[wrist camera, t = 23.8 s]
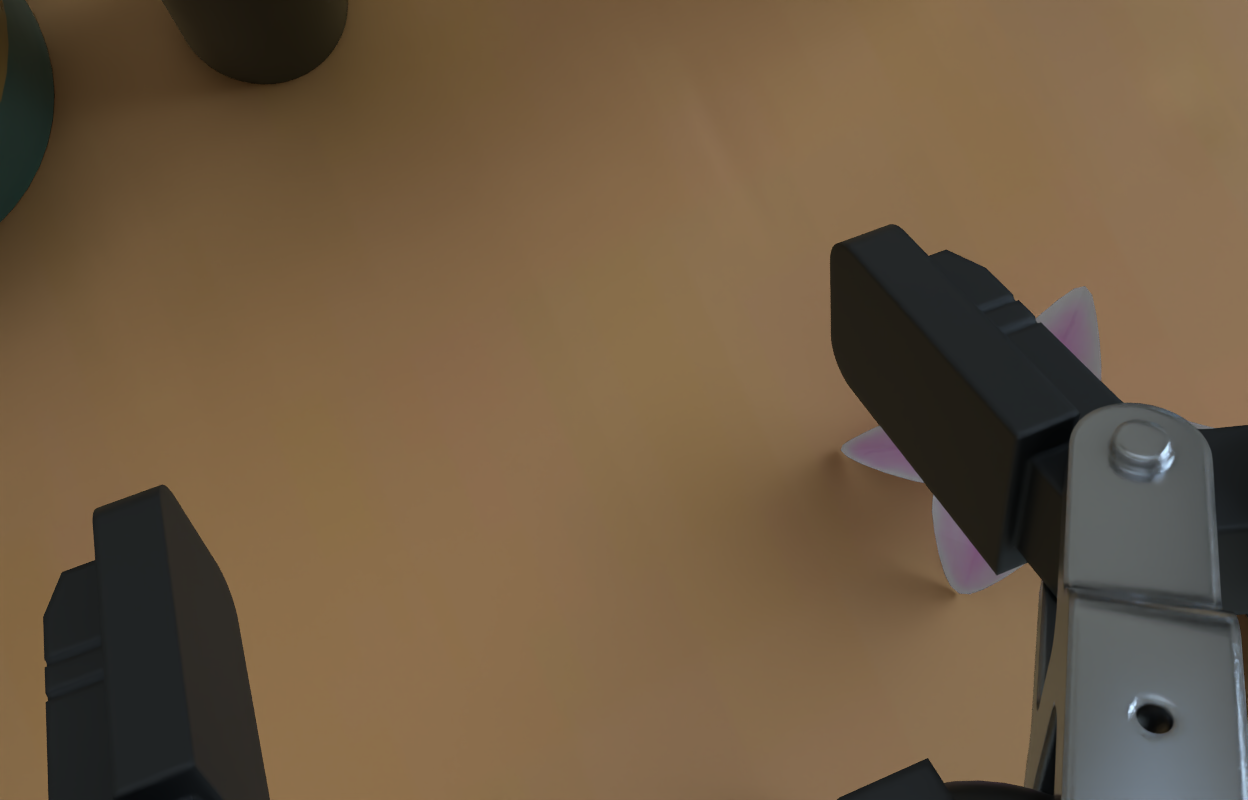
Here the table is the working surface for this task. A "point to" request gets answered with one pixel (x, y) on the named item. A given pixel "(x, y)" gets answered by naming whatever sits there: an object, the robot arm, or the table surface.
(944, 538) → the lily
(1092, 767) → the robot arm
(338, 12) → the tea tin
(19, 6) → the biscuit tin
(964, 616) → the table surface
